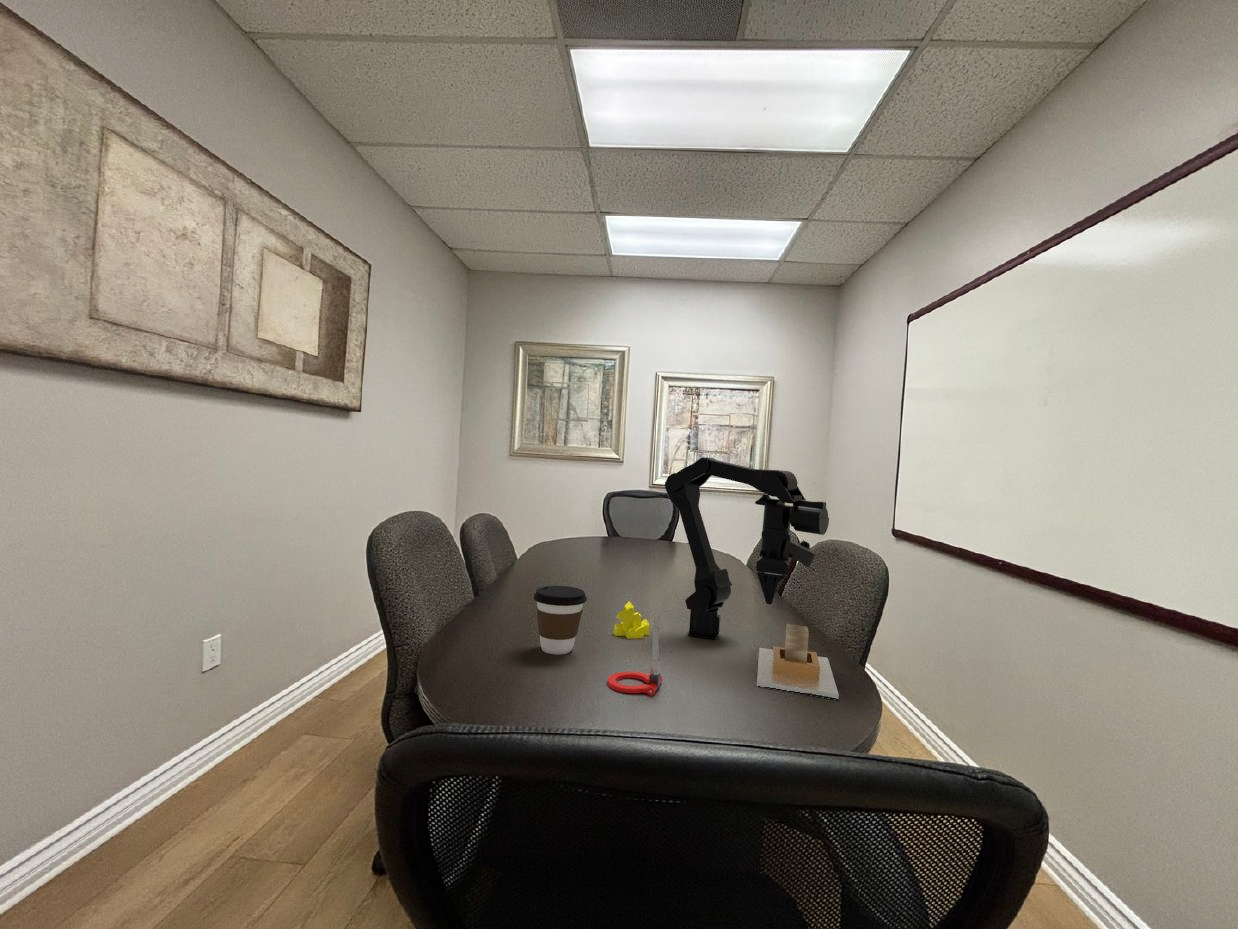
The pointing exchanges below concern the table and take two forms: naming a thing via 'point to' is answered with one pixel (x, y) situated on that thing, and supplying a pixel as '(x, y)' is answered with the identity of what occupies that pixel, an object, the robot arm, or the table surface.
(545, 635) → the coffee cup
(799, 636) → the cream upright block
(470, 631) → the table surface
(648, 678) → the tow hook
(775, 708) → the table surface
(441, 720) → the table surface
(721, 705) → the table surface
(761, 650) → the wooden socket on plate
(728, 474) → the robot arm
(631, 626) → the yellow blocky cluster
